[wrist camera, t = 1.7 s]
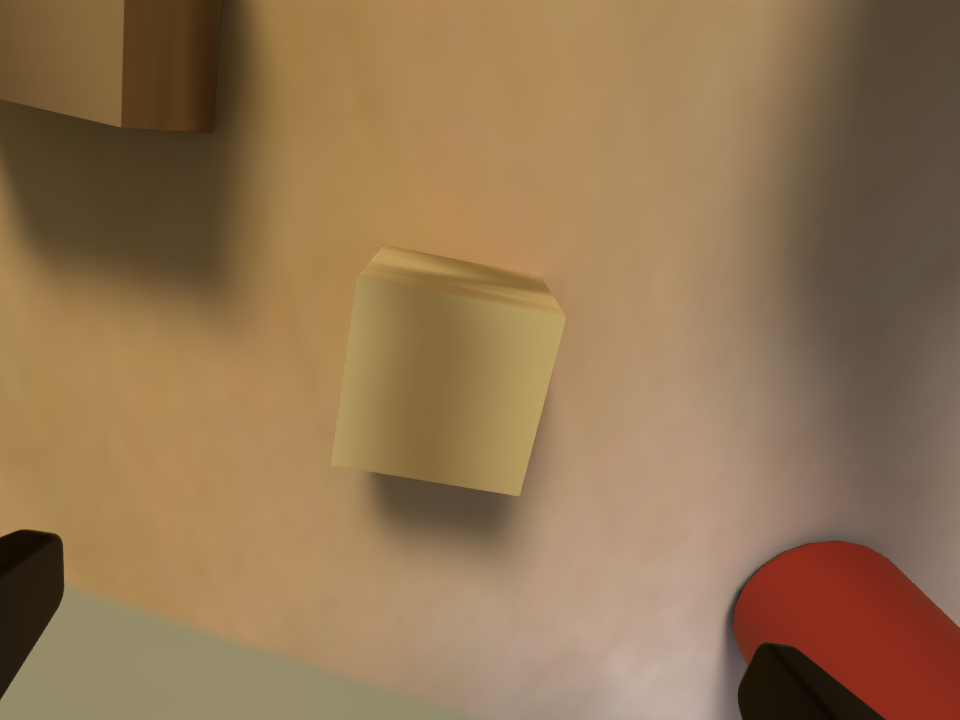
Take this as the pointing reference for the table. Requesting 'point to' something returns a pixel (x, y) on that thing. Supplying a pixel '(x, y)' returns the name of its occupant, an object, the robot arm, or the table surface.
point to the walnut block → (114, 60)
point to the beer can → (856, 627)
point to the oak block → (446, 371)
